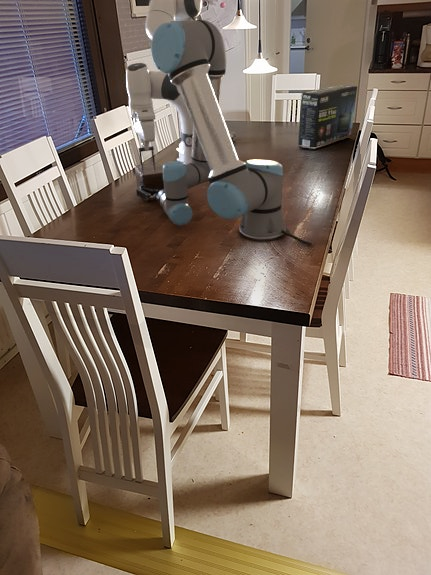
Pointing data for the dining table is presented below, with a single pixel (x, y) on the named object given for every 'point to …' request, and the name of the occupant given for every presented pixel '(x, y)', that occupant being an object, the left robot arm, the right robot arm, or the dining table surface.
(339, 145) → the dining table surface
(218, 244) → the dining table surface
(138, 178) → the chest
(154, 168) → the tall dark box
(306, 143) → the router box
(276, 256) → the dining table surface
